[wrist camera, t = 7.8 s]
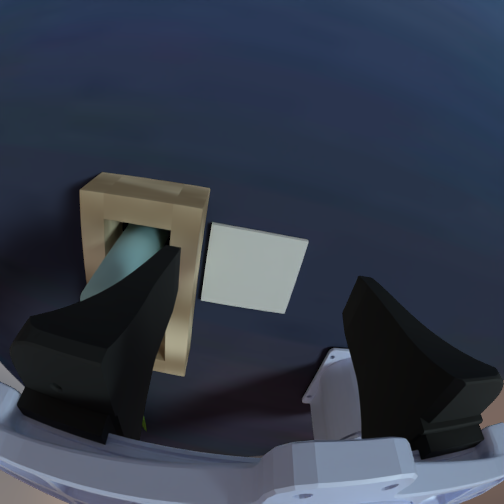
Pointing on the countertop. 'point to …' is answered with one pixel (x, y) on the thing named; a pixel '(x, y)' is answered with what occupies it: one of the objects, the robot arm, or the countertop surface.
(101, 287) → the peg
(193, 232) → the hole block
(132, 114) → the countertop surface
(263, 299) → the mat
